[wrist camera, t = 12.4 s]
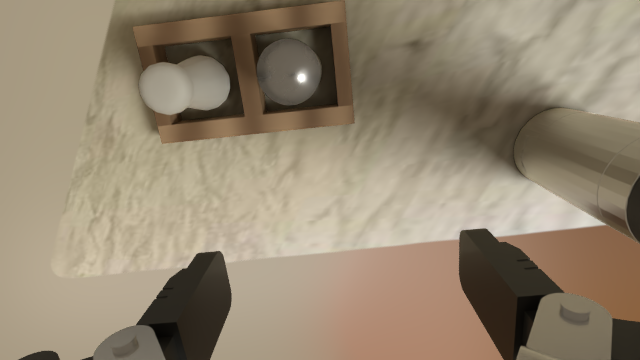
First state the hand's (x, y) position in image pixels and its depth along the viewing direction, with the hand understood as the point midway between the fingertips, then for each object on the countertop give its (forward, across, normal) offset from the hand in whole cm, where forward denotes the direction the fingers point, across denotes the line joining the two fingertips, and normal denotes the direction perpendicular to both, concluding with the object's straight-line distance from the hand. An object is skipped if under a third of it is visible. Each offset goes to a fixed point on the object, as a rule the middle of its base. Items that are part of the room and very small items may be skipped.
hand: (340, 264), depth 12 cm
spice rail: (+32, +8, -6) cm, 34 cm away
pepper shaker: (+32, +3, -6) cm, 33 cm away
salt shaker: (+32, +14, -6) cm, 36 cm away
